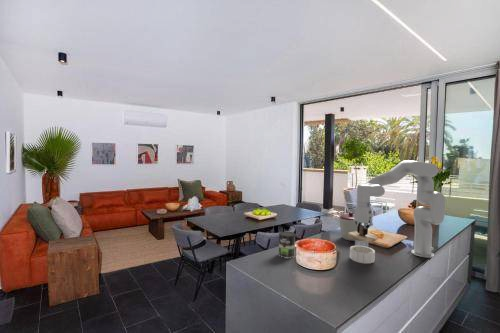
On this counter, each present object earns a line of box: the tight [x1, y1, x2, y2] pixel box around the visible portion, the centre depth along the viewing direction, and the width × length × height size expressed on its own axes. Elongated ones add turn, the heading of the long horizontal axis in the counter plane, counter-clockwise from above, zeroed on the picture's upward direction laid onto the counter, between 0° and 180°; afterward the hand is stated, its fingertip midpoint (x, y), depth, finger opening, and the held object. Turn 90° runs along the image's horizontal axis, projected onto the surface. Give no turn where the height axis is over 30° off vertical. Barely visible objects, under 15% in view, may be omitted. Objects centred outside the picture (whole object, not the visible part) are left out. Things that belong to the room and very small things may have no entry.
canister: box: [338, 211, 363, 242], centre depth 203 cm, size 18×18×21 cm
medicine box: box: [354, 240, 369, 247], centre depth 184 cm, size 8×4×9 cm, turn 105°
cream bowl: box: [349, 245, 376, 264], centre depth 163 cm, size 14×14×6 cm
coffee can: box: [278, 231, 296, 259], centre depth 167 cm, size 10×10×14 cm
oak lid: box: [348, 224, 378, 243], centre depth 162 cm, size 17×17×7 cm
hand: (362, 233), depth 162 cm, fingers closed on oak lid, 3 cm apart
